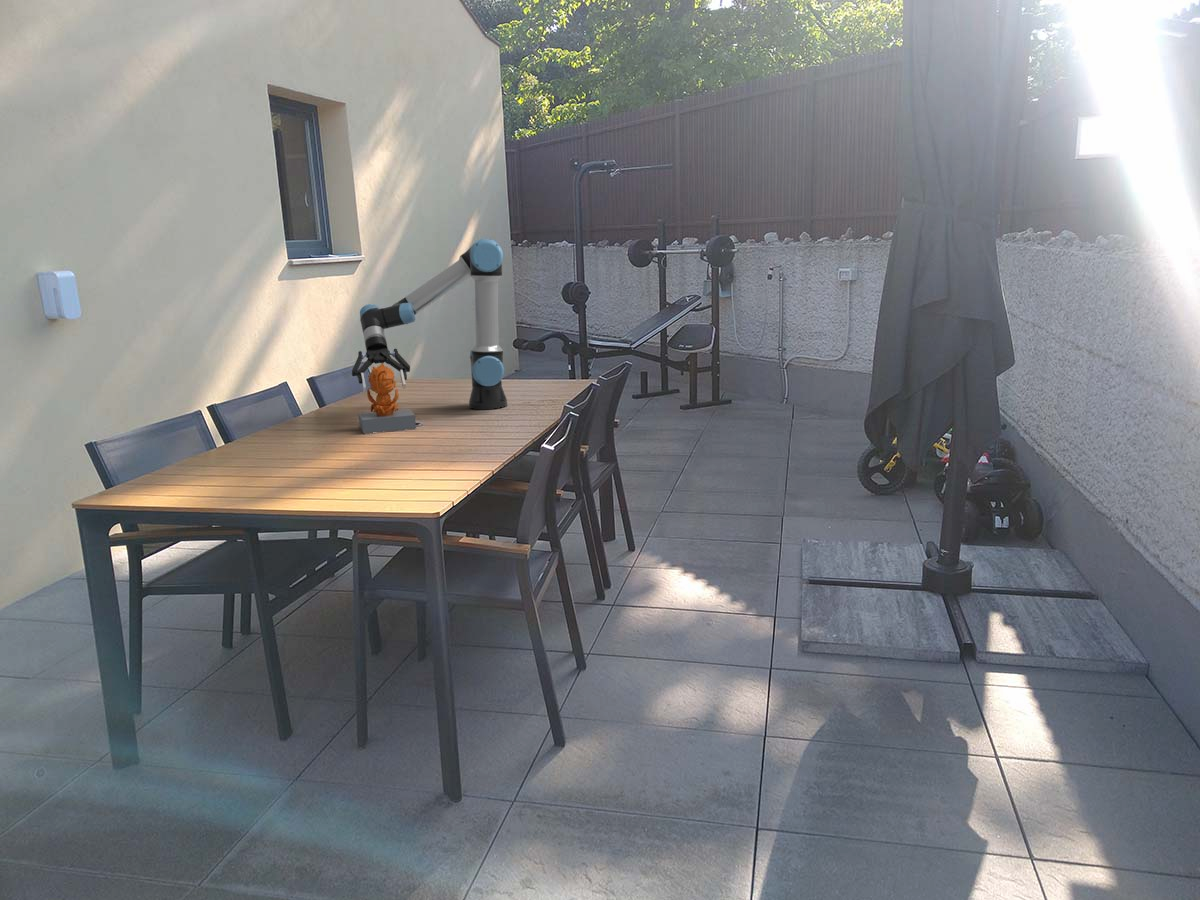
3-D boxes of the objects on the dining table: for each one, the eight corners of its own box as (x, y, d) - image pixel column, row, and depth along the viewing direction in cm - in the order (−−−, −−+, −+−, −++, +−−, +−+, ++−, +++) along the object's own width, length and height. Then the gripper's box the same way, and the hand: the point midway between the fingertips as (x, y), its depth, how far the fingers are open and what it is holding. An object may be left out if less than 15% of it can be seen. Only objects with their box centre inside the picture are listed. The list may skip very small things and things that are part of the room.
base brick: (409, 422, 331) (408, 409, 330) (416, 428, 318) (415, 415, 317) (359, 427, 325) (358, 413, 324) (363, 434, 312) (362, 420, 311)
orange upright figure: (405, 411, 325) (401, 361, 321) (394, 417, 314) (390, 365, 310) (375, 411, 326) (371, 362, 322) (364, 417, 316) (359, 366, 312)
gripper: (409, 346, 334) (419, 391, 324) (340, 350, 326) (348, 397, 315) (410, 332, 328) (421, 378, 318) (339, 337, 320) (348, 384, 309)
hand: (384, 388), depth 316 cm, fingers open, 13 cm apart
